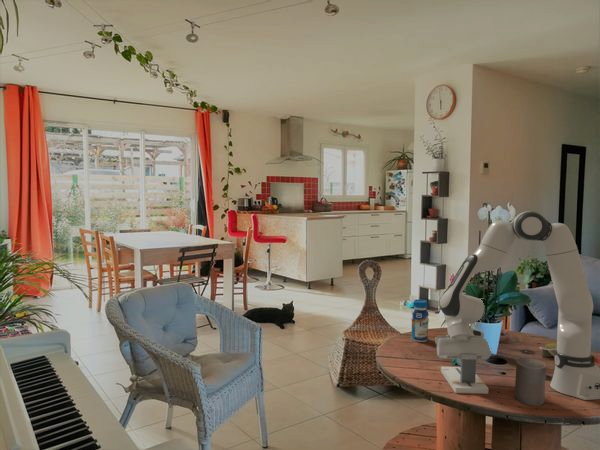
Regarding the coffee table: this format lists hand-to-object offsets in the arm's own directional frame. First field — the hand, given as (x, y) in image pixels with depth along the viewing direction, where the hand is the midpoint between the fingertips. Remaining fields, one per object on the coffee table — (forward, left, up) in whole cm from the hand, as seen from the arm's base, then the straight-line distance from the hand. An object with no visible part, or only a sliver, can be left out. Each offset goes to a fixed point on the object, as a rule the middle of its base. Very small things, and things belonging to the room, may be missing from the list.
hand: (466, 368), depth 178 cm
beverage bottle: (+6, -56, -7) cm, 57 cm away
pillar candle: (-19, +11, -7) cm, 23 cm away
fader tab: (0, +2, -4) cm, 5 cm away
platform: (-48, -34, -7) cm, 60 cm away
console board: (0, -4, -7) cm, 8 cm away
